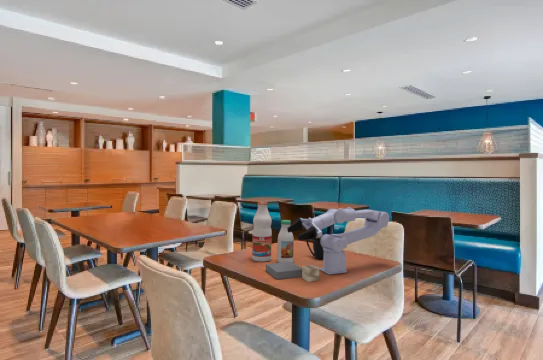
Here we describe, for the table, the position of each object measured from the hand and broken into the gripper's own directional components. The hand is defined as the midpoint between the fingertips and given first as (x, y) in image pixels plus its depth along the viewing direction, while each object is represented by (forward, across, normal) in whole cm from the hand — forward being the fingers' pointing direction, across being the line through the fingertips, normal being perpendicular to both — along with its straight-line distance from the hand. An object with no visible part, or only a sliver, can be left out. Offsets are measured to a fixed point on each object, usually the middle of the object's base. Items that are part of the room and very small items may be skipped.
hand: (293, 234), depth 133 cm
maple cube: (0, +10, +17) cm, 20 cm away
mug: (-22, -14, +30) cm, 40 cm away
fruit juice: (+4, -24, +25) cm, 35 cm away
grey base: (+5, -1, +18) cm, 19 cm away
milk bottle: (-4, -15, +25) cm, 29 cm away
